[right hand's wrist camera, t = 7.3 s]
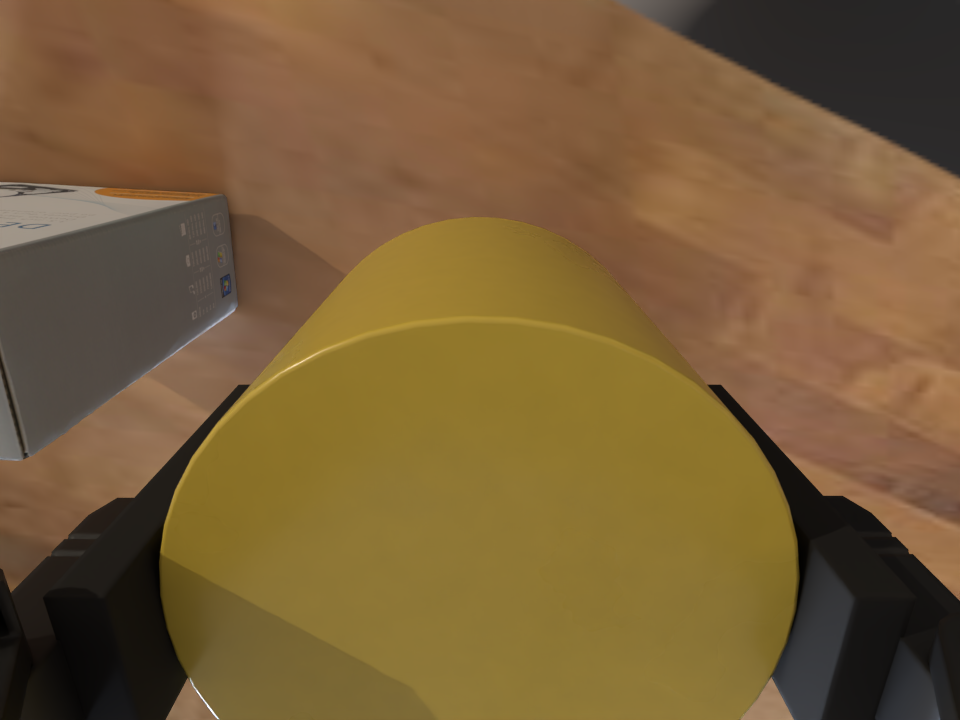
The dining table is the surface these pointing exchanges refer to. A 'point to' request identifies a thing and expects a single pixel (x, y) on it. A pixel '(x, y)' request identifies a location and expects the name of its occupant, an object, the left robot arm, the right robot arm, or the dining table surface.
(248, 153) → the dining table surface
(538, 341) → the can
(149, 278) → the hard drive box
